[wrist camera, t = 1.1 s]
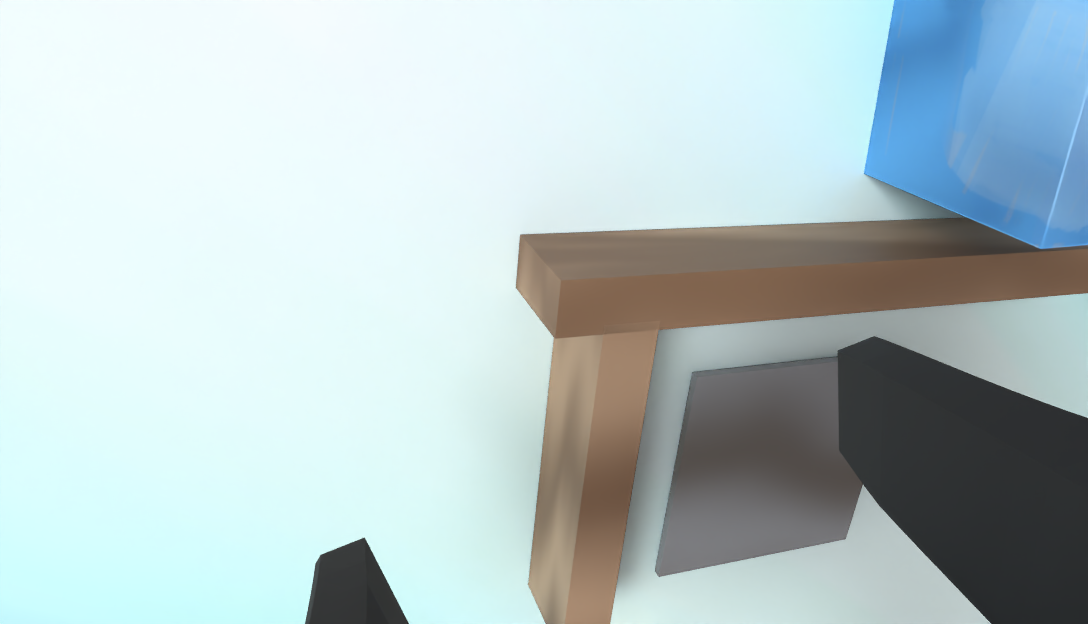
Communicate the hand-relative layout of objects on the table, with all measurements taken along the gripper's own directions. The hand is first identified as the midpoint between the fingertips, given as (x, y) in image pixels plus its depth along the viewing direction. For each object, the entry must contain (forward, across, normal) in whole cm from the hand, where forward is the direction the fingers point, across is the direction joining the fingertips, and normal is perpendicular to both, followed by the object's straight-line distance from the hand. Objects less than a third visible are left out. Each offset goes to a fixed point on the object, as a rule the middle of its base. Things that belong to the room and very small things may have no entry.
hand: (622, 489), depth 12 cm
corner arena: (+10, -8, +10) cm, 16 cm away
